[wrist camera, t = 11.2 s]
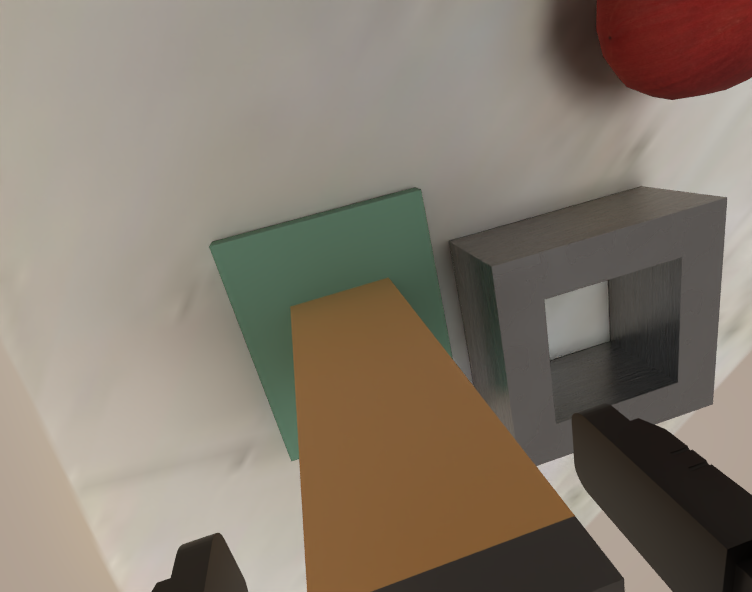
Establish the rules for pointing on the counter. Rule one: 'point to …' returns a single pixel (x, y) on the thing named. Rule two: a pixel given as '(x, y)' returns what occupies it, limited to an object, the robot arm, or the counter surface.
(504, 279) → the gray square frame
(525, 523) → the plug
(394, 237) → the mat
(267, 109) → the counter surface
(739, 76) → the red onion
